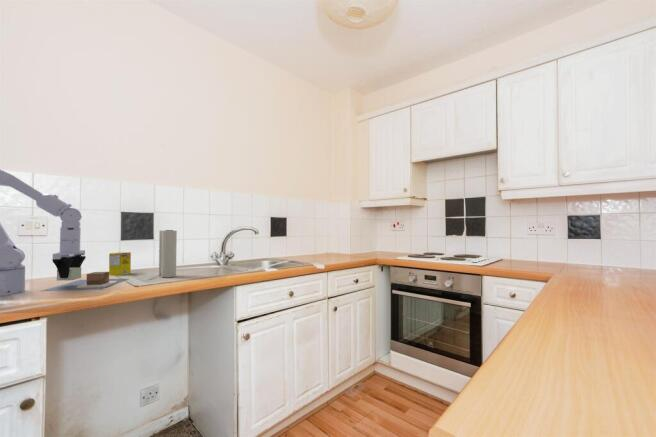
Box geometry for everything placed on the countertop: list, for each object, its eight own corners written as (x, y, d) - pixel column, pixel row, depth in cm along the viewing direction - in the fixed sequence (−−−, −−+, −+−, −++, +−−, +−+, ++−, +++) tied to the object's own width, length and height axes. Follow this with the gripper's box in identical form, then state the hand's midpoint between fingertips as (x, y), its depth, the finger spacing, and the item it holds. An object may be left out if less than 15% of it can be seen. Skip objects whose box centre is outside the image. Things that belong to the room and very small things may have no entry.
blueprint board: (101, 292, 106) (102, 287, 106) (40, 294, 102) (40, 289, 102) (130, 280, 126) (130, 277, 126) (79, 282, 123) (79, 278, 123)
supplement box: (130, 275, 140) (131, 252, 140) (120, 277, 134) (121, 253, 134) (119, 275, 141) (119, 252, 141) (108, 277, 135) (109, 253, 135)
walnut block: (101, 284, 111) (101, 273, 111) (86, 285, 110) (86, 274, 110) (109, 282, 116) (109, 271, 116) (94, 282, 115) (94, 272, 115)
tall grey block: (177, 276, 137) (178, 230, 137) (163, 278, 133) (163, 230, 133) (173, 274, 142) (173, 229, 142) (158, 276, 138) (159, 230, 138)
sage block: (72, 280, 109) (72, 269, 109) (56, 280, 108) (57, 269, 108) (81, 277, 114) (81, 267, 114) (66, 278, 113) (66, 267, 113)
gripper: (69, 241, 105) (68, 279, 105) (93, 239, 119) (93, 273, 119) (46, 241, 104) (45, 280, 103) (73, 239, 118) (73, 273, 118)
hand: (69, 276), depth 111 cm, fingers closed on sage block, 5 cm apart
